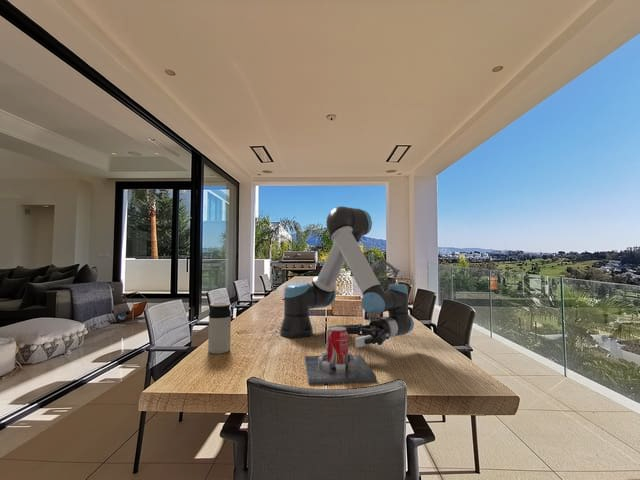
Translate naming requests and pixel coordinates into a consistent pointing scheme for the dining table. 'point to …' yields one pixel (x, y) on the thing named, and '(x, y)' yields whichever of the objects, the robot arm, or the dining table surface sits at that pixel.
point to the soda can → (337, 345)
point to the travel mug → (219, 328)
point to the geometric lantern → (383, 276)
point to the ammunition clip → (372, 315)
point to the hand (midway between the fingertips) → (340, 338)
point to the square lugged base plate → (338, 370)
